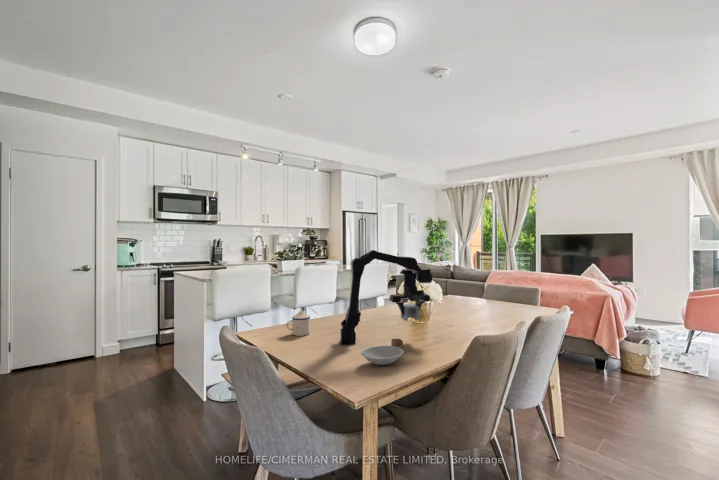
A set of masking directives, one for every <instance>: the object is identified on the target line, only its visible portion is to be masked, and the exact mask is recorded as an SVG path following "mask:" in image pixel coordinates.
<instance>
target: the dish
mask: <svg viewBox="0 0 719 480" xmlns="http://www.w3.org/2000/svg"><path fill="white" fill-rule="evenodd" d="M404 352H405V351H404V348H403V349H401V348H399V347H395V346H391V345H375V346H370V347H369V346H368V347H367V348H364V349H363V350H361V352H360V354H361V356H362V357H364V359H366V360H367V361H368V362H370V363H371V364H375V365H380V366H385V365H388V364H392V363H394V362H395V361H397V360H398V359H400V357H401V356H402V355H403V354H404Z"/></svg>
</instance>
